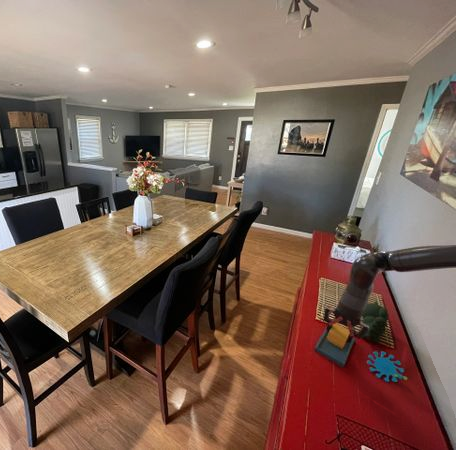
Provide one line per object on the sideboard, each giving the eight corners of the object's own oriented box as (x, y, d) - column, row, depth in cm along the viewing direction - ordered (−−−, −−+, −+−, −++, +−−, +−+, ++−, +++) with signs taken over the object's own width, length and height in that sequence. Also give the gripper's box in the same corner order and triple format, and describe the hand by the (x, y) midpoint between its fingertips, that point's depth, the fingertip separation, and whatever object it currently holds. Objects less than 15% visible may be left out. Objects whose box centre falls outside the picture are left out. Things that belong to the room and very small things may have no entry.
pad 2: (346, 339, 104) (349, 333, 103) (342, 349, 99) (345, 343, 98) (331, 331, 108) (334, 326, 107) (326, 340, 103) (329, 335, 102)
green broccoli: (381, 356, 99) (382, 318, 116) (401, 323, 91) (399, 288, 107) (353, 343, 105) (358, 309, 121) (369, 311, 96) (372, 280, 113)
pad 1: (348, 336, 96) (350, 330, 95) (343, 347, 91) (346, 341, 90) (331, 328, 100) (334, 322, 98) (326, 338, 95) (329, 332, 94)
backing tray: (353, 341, 103) (355, 338, 103) (342, 368, 92) (344, 364, 91) (326, 328, 110) (327, 324, 110) (313, 350, 99) (314, 347, 98)
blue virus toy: (361, 365, 91) (376, 344, 92) (359, 365, 96) (373, 346, 96) (398, 391, 84) (414, 369, 84) (394, 391, 88) (409, 369, 89)
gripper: (327, 297, 91) (314, 330, 98) (376, 318, 81) (358, 354, 88) (332, 289, 96) (320, 321, 102) (379, 308, 86) (362, 342, 93)
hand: (337, 336), depth 95 cm, fingers closed on pad 1, 5 cm apart
